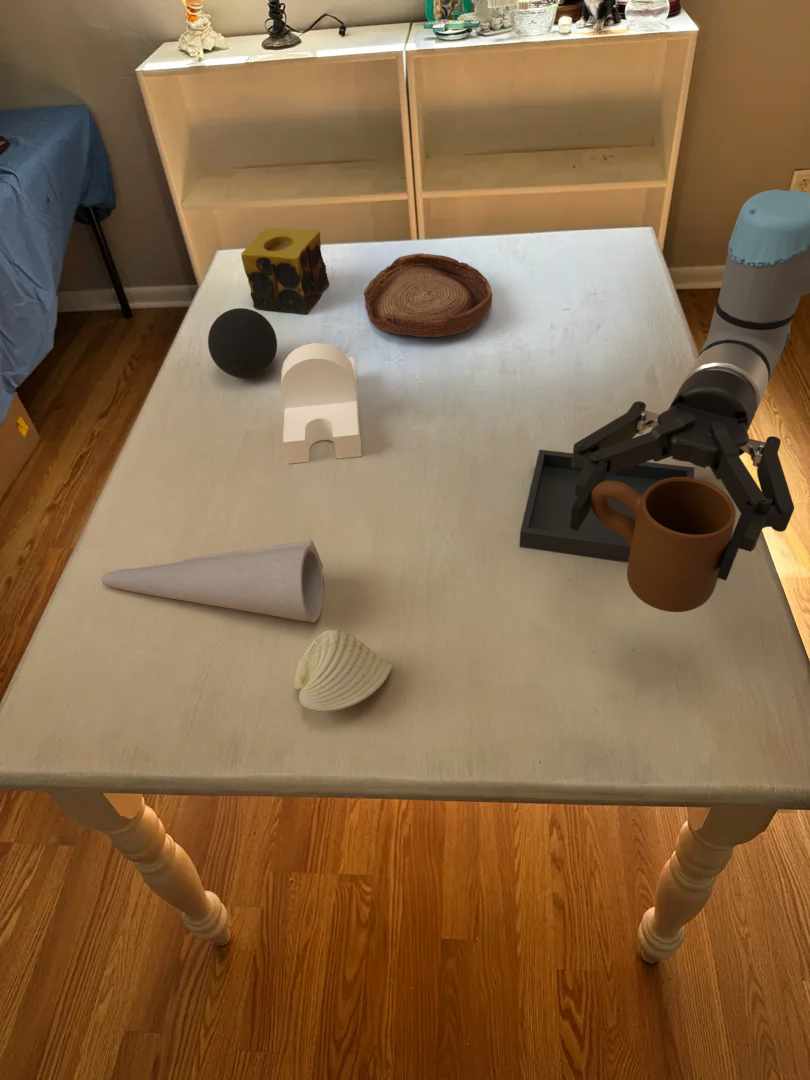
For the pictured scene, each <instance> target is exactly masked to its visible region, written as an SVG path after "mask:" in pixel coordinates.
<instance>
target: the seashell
mask: <svg viewBox="0 0 810 1080" xmlns="http://www.w3.org/2000/svg"><path fill="white" fill-rule="evenodd" d="M392 669H393V665H392V664H391V663H389V662H388V661H386V660H385V659H383V658H382V657H380V656H379V655H378V654H377V653H376V652H375V651H373V650H372V649H371V648H370V647H369V646H367V645H366V644H365V643H363V642H362V641H360V640H359V639H358V638H357V637H356V636H353V635H351V634H349V633H348V632H346V631H342V630H341V629H340V628H339V629H338V628H337V629H329V630H325V631H323V633H320V634H319V635H318V636H317V637H316V638H315V639H314V640H313V641H312V642H311V643H310V644H309V646H308V647H307V648H306V650H305V651H304V653H303V655H302V657H301V659H300V660H299V662H298V664H297V667H296V670H295V674H294V683H293V688H294V689H295V690H300V691H299V694H298V700H299V702H300V704H301V705H302V706H303V707H304V708H306V709H308V710H311V711H315V712H321V713H322V712H335V711H340V710H344V709H348V708H350V707H352V706H354V705H356V704H359V703H360V702H363V701H364V700H366V699H367V698H369V697H370V696H372V695H373V694H374V693H375V692H376V691H377V690H378V689H379V688H380V687H381V686H382V685H383V684H384V683H385V681H386V680H387V678H388V677H389V675H390V673H391V671H392Z"/></svg>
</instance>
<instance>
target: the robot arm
mask: <svg viewBox="0 0 810 1080" xmlns="http://www.w3.org/2000/svg"><path fill="white" fill-rule="evenodd" d="M727 251H728V252H727V256H726V261H725V265H724V271H723V276H722V281H721V285H720V290H719V294H718V296H717V299H716V303H715V305H714V309H713V314H712V317H711V322H710V326H709V330H708V334H707V337H706V339H705V342H704V344H703V346H702V348H701V350H700V352H699V354H698V356H697V357H696V359H695V361H694V362H693V364H692V366H691V367H690V369H689V371H688V373H687V375H686V376H685V378H684V380H683V382H682V384H681V386H680V387H679V389H678V391H677V393H676V395H675V397H674V399H673V400H672V401H671V403H670V405H669V408H668V409H667V410H665V411H662V412H661V413H660V414H659V413H656V412H652V411H649V410H646V407H647V404H646V403H645V402H643V401H642V400H641V401H639V400H638V401H634V402H633V404H632V405H631V406H630V408H629V409H628V410H627V412H625V413H624V414H622V415H620V416H619V417H617V418H615V419H614V420H612V421H610V422H608V423H607V424H606V425H603V426H602V427H600V428H599V429H597V430H595V431H594V432H591V433H590V434H588V435H587V436H585V437H583V438H582V439H580V440H578V441H577V442H575V443H574V444H573V448H572V449H573V450H572V453H573V457H572V468H573V469H575V470H581V469H582V471H581V473H580V474H579V476H578V478H577V479H576V484H575V496H577V497H578V498H577V500H576V501H575V503H574V505H573V506H572V514H571V522H570V528H571V529H574V530H577V531H578V530H579V528H580V526H581V525H582V523H583V521H584V519H585V518H586V516H587V514H588V513H589V511H590V509H591V504H590V496H591V493H592V490H593V489H594V488H595V487H596V485H598V484H599V483H601V482H603V481H605V477H606V476H608V475H611V474H614V473H616V472H619V471H622V470H625V469H628V468H630V467H633V466H636V465H639V464H641V463H644V462H651V461H653V462H654V463H658V462H659V461H662V460H665V459H668V458H671V459H672V460H675V461H678V462H685V463H690V464H692V465H695V466H696V467H699V468H704V469H706V467H709V468H710V470H711V471H712V474H713V475H714V477H715V478H716V480H718V481H719V480H720V481H721V482H722V484H723V485H724V488H725V489H726V491H727V493H728V495H729V497H730V498H731V500H732V502H733V503H734V504H735V506H736V508H737V509H738V511H739V512H740V514H739V518H738V520H737V523H736V525H735V528H734V529H733V532H732V536H731V540H730V542H729V545H728V547H727V550H726V552H725V555H724V558H723V561H722V564H721V567H720V570H719V573H718V575H717V578H718V580H719V579H720V580H722V581H726V582H727V580H728V577H729V575H730V573H731V569H732V567H733V565H734V561H735V560H736V556H737V554H738V551H739V549H740V550H743V551H746V552H749V553H752V551H754V550H755V549H756V546H757V544H758V541H759V538H760V536H761V532H762V531H763V529H765V528H771V529H772V530H774V531H775V532H778V533H781V532H782V533H783V532H785V531H786V530H787V528H788V525H789V523H790V521H791V519H792V516H793V513H794V511H795V505H794V502H793V498H792V495H791V492H790V488H789V485H788V482H787V479H786V475H785V472H784V469H783V466H782V463H781V459H780V456H779V450H780V446H781V442H782V440H781V438H779V437H778V436H775V435H774V436H773V435H772V436H768V437H767V438H766V439H765V441H761V440H757V439H753V438H750V435H749V433H748V432H749V431H750V427H751V425H752V422H753V420H754V418H755V415H756V413H757V411H758V409H759V407H760V404H761V402H762V399H763V398H764V395H765V393H766V391H767V388H768V384H769V382H770V379H771V377H772V374H773V373H774V371H775V368H776V366H777V365H778V362H779V360H780V358H781V357H782V356H783V355H784V352H785V350H786V348H787V344H788V343H789V342H788V341H789V338H790V334H791V333H790V331H791V325H792V322H793V319H794V316H795V313H796V311H797V309H798V306H799V303H800V301H801V297H802V296H805V295H810V193H808V192H806V191H802V190H801V191H800V190H796V189H790V190H783V189H768V190H765V191H761V192H758V193H756V194H754V195H752V196H751V197H749V198H748V199H747V200H746V201H745V202H744V204H742V207H741V209H740V210H739V214H738V217H737V219H736V221H735V225H734V228H733V230H732V233H731V236H730V240H729V242H728V248H727ZM649 428H651V430H650V431H649V432H646V433H644V431H646V430H647V429H649ZM637 434H638V436H636V435H637ZM745 453H746V454H748V455H749V456H750V460H751V461H752V466H753V467H756V476H757V480H758V483H759V485H758V483H757V482H756V481H755V479H754V477H753V476H752V474H751V473H750V471H749V470H748V468H747V466H746V465H745V464H744V461H743V460H742V459H741V457H740V456H742V455H744V454H745Z"/></svg>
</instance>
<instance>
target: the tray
mask: <svg viewBox="0 0 810 1080" xmlns="http://www.w3.org/2000/svg"><path fill="white" fill-rule="evenodd" d="M572 457H573V452H564V451H558V450H557V451H556V450H546V449H539V450H538V454H537V458H536V464H535V466H534V471H533V476H532V481H531V484H530V488H529V492H528V496H527V501H526V506H525V510H524V514H523V517H522V521H521V522H522V523H521V527H520V531H519V532H520V533H519V547H520V548H524V549H525V548H526V549H531V550H533V549H534V550H540V551H546V552H552V553H560V554H567V555H568V554H569V555H574V556H581V557H588V558H596V559H602V560H609V561H616V562H621V563H622V562H623V563H628V561H629V556H630V550H631V546H630V544H629V543H628V542H627V541H626V540H625V539H624V538H623V537H622V536H621V535H620V534H619V533H617V532H615V531H613V530H611V529H609V528H607V527H606V526H604V525H603V524H602V523H601V522H600V521H599V520H598V519H597V518H596V516H595V515H594V513H593V511H592V508H591V509H590V511H589V513H588V514H587V516H586V518H585V519H584V521H583V523H582V525H581V526H580V528H579V530H578V531H577V530H574V529H571V528H570V522H571V514H572V506H573V505H574V503H575V501H576V500H577V498H578V497H577V496H575V484H576V479H577V478H578V476H579V474H580V473H581V471H582V469H581V470H575V469H573V468H572ZM673 477H689V478H695V466H687V465H676V464H668V463H660V462H651V461H647V462H644V463H641V464H639V465H636V466H633V467H630V468H628V469H625V470H622V471H619V472H616V473H614V474H611V475H608V476H606V477H605V481H618V482H622V483H625V484H627V485H628V486H630V487H631V488H633V489H634V490H635V491H637V492H638V493H640V494H641V495H643V494H644V492H645V491H646V490H647V489H648V488H649V487H650V486H651V485H653V484H654V483H656V482H658V481H661V480H663V479H667V478H673ZM608 499H609V503H610V504H611V506H612V507H613V508H614V509H615V510H616V511H618V512H620V513H622V514H625V515H627V516H629V517H630V518H632V519H633V520H635V521H636V517H637V516H636V514H634V513H633V512H632V511H630V510H629V509H628V508H626V507H625V506H623V505H622V504H620V503H619V502H618V501H616V500H614V499H612V498H608Z"/></svg>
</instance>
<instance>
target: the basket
mask: <svg viewBox="0 0 810 1080" xmlns="http://www.w3.org/2000/svg"><path fill="white" fill-rule="evenodd" d="M363 296H364V301H365V308H366V309H365V310H366V312H367V316H368V318H369V320H370V322H371V323H372V325H373V326H375V328H376V329H378V330H379V331H382V332H384V333H391V334H395V335H403V336H414V337H417V338H418V337H419V338H428V337H429V338H440V337H446V336H447V337H449V336H452V335H456V334H460V333H463V332H466V331H469V330H470V329H473V328H474V327H476V326H477V325H479V324H480V323H481V322H482V321H483V320H484V319H485V317H486V316H487V315H488V313H489V312H490V309H491V307H492V302H493V291H492V287H491V284H490V283H489V281H488V279H487V278H486V276H484V275H483V273H481V272H480V271H479V270H478V269H477V268H474V267H473V266H472V265H469V264H467V263H466V262H464V261H463V262H462V261H461V262H459V261H458V260H457V259H456V258H453V257H449V256H446V255H442V254H441V255H440V254H431V253H413V254H407V255H403V256H399V257H397V258H395V260H393V262H392V263H391V264H390V265H388V266H386V267H385V268H384V269H381V270H380V272H379V273H377V275H375V277H373V278H372V279H371V280H370V281H369V283H368V284H367V286H366V287H365V289H364V290H363Z"/></svg>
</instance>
